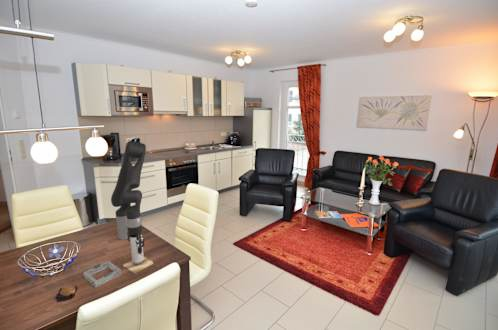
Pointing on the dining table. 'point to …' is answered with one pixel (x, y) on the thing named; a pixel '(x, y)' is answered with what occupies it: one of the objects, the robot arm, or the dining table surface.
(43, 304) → the dining table surface
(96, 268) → the square frame
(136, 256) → the travel mug
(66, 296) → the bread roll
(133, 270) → the square tan coaster
